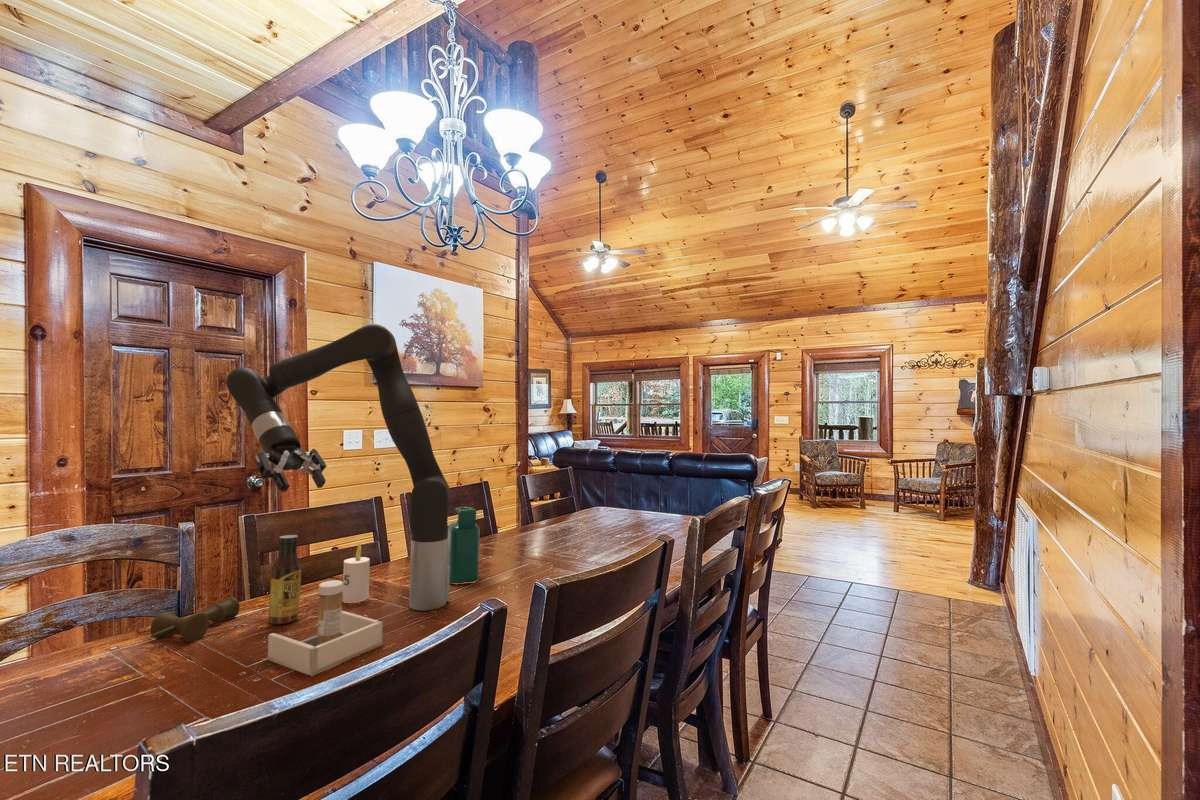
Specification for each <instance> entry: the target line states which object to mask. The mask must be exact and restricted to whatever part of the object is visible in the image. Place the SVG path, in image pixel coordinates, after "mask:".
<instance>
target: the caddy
mask: <svg viewBox="0 0 1200 800" xmlns="http://www.w3.org/2000/svg"><path fill="white" fill-rule="evenodd" d="M383 624H384V622H383V621H381V620H377V619H374V618H369V617H367V616H363V615H360V614H356V613H352V612H350V611H349V612H348V611H345V610H342V615H341V631H340V637H338V638H335V639H333V640H330V641H327V642H325V643H322V644H320V645H318V634H315V635H313V636H311V637H308V638H305V639H302V640H296V639H294V638H290V637H287V636H284V635H282V634H278V633H275V632H272V633H268V640H267V642H268V643H267V660H268V661H270V662H272V663H276V664H278V665H281V666H283V667H286V668H288V669H291V670H294V671H296V672H299V673H302V674H304V675H307V676H309V675H310V677H314V675H315V676H316V674H317V675H319V674H321V673H323V671H324V672H326V671H328V670H330V669H332V668H335V667H337V666H339V665H342V664H344V663H346V662H348V661H350V660H352V659H351V658H352V657H354V656H357V655H359V654H361V653H364V652H366V653H368V652H371V651H372V650H375V649H378V648H380V647H381V646H383V630H384V628H383V626H384V625H383ZM370 650H371V651H370ZM367 651H368V652H367ZM364 654H365V653H364ZM359 656H360V655H359ZM357 657H358V656H357ZM349 659H350V660H349ZM347 660H348V661H347ZM345 661H346V662H345ZM343 662H344V663H343ZM341 663H342V664H341ZM320 672H321V673H320ZM318 673H319V674H318Z"/></svg>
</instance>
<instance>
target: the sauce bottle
mask: <svg viewBox="0 0 1200 800" xmlns="http://www.w3.org/2000/svg"><path fill="white" fill-rule="evenodd" d="M298 542H299V535H297V534H288V535H287V534H286V535H281V536H279V538H278V544H279V548H278V556H277V558H276V560H275V562H274V563H273V564H272V568H271V577H270V588H269V589H270V590H269V605H268V606H269V607H268V616H269V618H268V623H270V624H271V625H276V626H279V625H285V624H290V623H293V622H295V621H296V620H297V619H298V618H299V612H300V599H301V598H300V597H301V585H302V584H301V582H302V580H301V579H302V568H301V564H300V562H299V558H298V551H297V548H298Z"/></svg>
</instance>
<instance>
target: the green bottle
mask: <svg viewBox="0 0 1200 800" xmlns="http://www.w3.org/2000/svg"><path fill="white" fill-rule="evenodd" d="M455 511H456V512H457V521H455V522H451V523H450V524H449V525H448V547H447V565H449V566H450V573H449V582H450V583H463V582H473V581H476V580H478V581H479V571H480V570H479V568H480V567H479V566H480V537H481V536H480V535H481V534H480V526H479V525H478V524H477V522H476V521H477V509H474V508H473V507H470V506H461V507H456V508H455ZM450 583H449V584H450Z"/></svg>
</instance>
